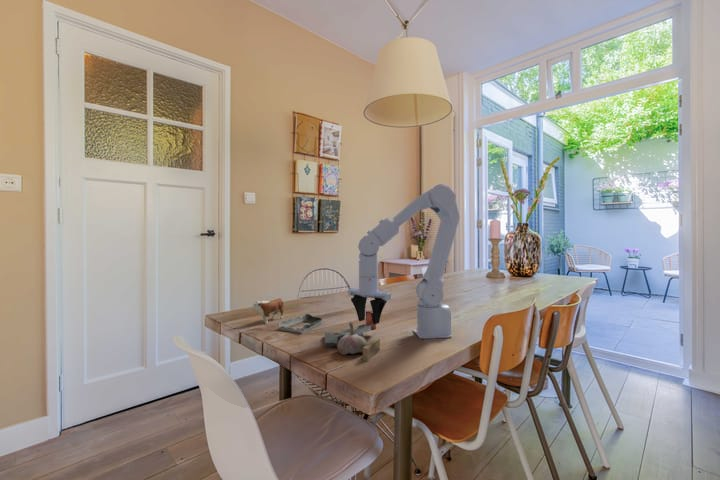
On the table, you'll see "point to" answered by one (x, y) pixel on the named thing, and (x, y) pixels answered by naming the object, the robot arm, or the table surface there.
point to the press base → (330, 344)
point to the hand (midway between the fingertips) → (368, 321)
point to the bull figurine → (269, 308)
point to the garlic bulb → (351, 342)
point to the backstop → (371, 349)
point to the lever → (355, 329)
